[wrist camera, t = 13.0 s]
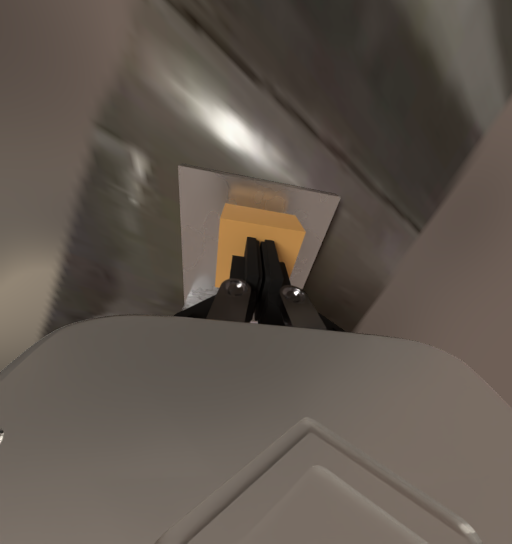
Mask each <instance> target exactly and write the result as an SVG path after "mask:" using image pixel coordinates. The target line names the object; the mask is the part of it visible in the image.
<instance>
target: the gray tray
mask: <svg viewBox="0 0 512 544" xmlns="http://www.w3.org/2000/svg"><path fill="white" fill-rule="evenodd" d="M178 172H179V193H180V215H181V236H182V258H183V280H184V301H185V304H184V307H183V309H182V311H183V310H185V309H187V308H189V307H191V306H193V305H195V304H197V303H199V302H201V301H203V300H206V299H208V298H210V297H212V296H214V295H216V294H217V292H218V290H219V288H218V287H215V278H216V265H217V252H218V238H219V225H220V217H221V214H222V211H223V209H224V206H225V203H228V204H233V205H239V206H245V207H250V208H256V209H262V210H268V211H273V212H279V213H285V214H290V215H296V217H297V219H298V220H299V222H300V223H301V225H302V227H303V228H304V230H305V231H306V233H305V236H304V239H303V242H302V245H301V248H300V250H299V253H298V256H297V259H296V262H295V264H294V267H293V270H292V273H291V276H290V279H289V280H290V283H291V285H293V286H296V287H299V288H300V289H303V287H304V284H305V282H306V279H307V277H308V275H309V272H310V270H311V267H312V265H313V263H314V260H315V258H316V256H317V253H318V251H319V248H320V246H321V244H322V241H323V239H324V236H325V234H326V232H327V229H328V227H329V225H330V222H331V220H332V217H333V215H334V213H335V210H336V208H337V205H338V203H339V201H340V198H341V197H340V196H338V195H337V194H335V193H330V192H325V191H320V190H315V189H309V188H304V187H299V186H294V185H289V184H284V183H279V182H274V181H269V180H264V179H259V178H254V177H248V176H243V175H238V174H233V173H228V172H223V171H218V170H213V169H208V168H203V167H198V166H193V165H187V164H181V165H178ZM250 323H256V324H258V321H255V320H254V315H253V319H252V320H251V322H250Z"/></svg>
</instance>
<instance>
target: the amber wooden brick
mask: <svg viewBox="0 0 512 544" xmlns="http://www.w3.org/2000/svg"><path fill="white" fill-rule="evenodd" d="M305 233H306V231H305V230H304V228H303V227H302V225H301V223H300V222H299V220H298V219H297V217H296V215H290V214H285V213H279V212H273V211H268V210H262V209H256V208H250V207H245V206H239V205H233V204H228V203H225V206H224V209H223V211H222V214H221V217H220V225H219V238H218V252H217V265H216V278H215V287H218V288H220V285H221V284H222V282H223V281H225V280H227V279H229V278H230V270H231V263H232V255H235V256H242V257H244V252H245V246H246V240H247V237H253V238H256V240H257V241H259V245H261V241H265V239H266V240H272V241H274V242H275V246H276V250H277V254H278V258H279V262H284V263H285V266H286V269H287V273H288V276H289V279H290V276H291V273H292V270H293V267H294V264H295V262H296V259H297V256H298V253H299V250H300V248H301V245H302V242H303V239H304V236H305Z"/></svg>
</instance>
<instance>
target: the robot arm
mask: <svg viewBox="0 0 512 544" xmlns="http://www.w3.org/2000/svg"><path fill="white" fill-rule="evenodd" d="M253 315H254V320H255V321H258V324H256V323H250V322H251V320H252V319H253ZM0 544H512V408H511V407H510V406H509V405H508V404H507V403H506V402H505V401H504V400H503V399H502V398H501V397H500V396H499V395H498V394H497V393H496V392H495V391H494V390H493V389H492V388H491V387H490V386H489V385H488V384H487V383H486V382H485V381H484V380H483V379H482V378H481V377H480V376H479V375H478V374H477V373H476V372H475V371H473V370H472V369H471V368H470V367H469V366H468V365H467V364H465V363H464V362H463V361H462V360H460V359H459V358H457V357H455V356H453V355H451V354H449V353H447V352H445V351H443V350H441V349H438V348H436V347H433V346H431V345H428V344H424V343H421V342H418V341H413V340H408V339H403V338H396V337H388V336H380V335H370V334H360V333H351V332H345V331H344V330H343V329H341V328H340V327H338V326H337V325H336V324H334V323H333V322H331V321H330V320H328V319H327V318H325V317H324V316H322V315H321V314H320V313H318V312H317V311H316V309H315V308H314V306H313V304H312V302H311V301H310V299H309V297H308V295H307V294H306V293H305V291H303V290H302V289H300V288H299V287H296V286H293V285H291V283H290V280H289V276H288V273H287V269H286V266H285V263H284V262H279V258H278V254H277V250H276V246H275V242H274V241H272V240H266V239H265V241H261V245H259V241H257V240H256V238H253V237H247V240H246V246H245V252H244V257H242V256H235V255H232V263H231V270H230V278H229V279H227V280H225V281H223V282H222V284H221V285H220V288H219V290H218V292H217V294H216V295H214V296H212V297H210V298H208V299H206V300H203V301H201V302H199V303H197V304H195V305H193V306H191V307H189V308H187V309H185V310H183V311H181V312H179V313H177V314H175V315H174V316H162V315H145V314H124V315H113V316H104V317H98V318H93V319H87V320H83V321H79V322H76V323H73V324H69V325H66V326H64V327H62V328H59V329H57V330H55V331H54V332H52V333H50V334H48V335H47V336H45V337H44V338H42V339H41V340H39V341H38V342H36V343H35V344H33V345H32V346H31V347H30V348H28V349H27V350H26V351H24V352H23V353H22V354H21V355H20V356H18V357H17V358H16V359H15V360H13V361H12V362H11V363H10V364H9V365H7V366H6V367H5V368H4V369H3V370H2V371H1V372H0Z"/></svg>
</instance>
